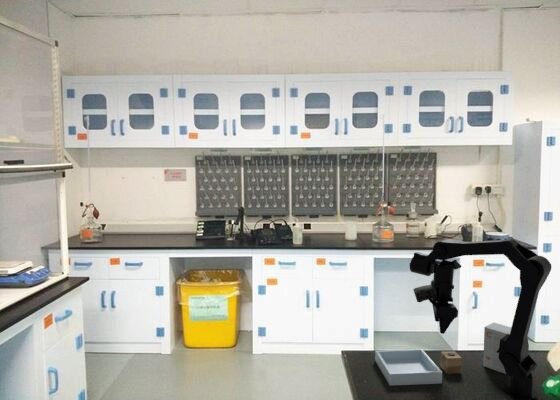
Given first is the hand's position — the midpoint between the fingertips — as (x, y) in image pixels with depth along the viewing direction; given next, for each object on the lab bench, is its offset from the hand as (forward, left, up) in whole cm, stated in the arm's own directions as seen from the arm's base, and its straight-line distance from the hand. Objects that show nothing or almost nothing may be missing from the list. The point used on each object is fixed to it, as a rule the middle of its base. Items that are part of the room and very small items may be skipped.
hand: (439, 327), depth 140 cm
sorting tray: (-3, +11, -13) cm, 17 cm away
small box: (-3, -19, -13) cm, 23 cm away
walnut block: (-3, -3, -13) cm, 13 cm away
